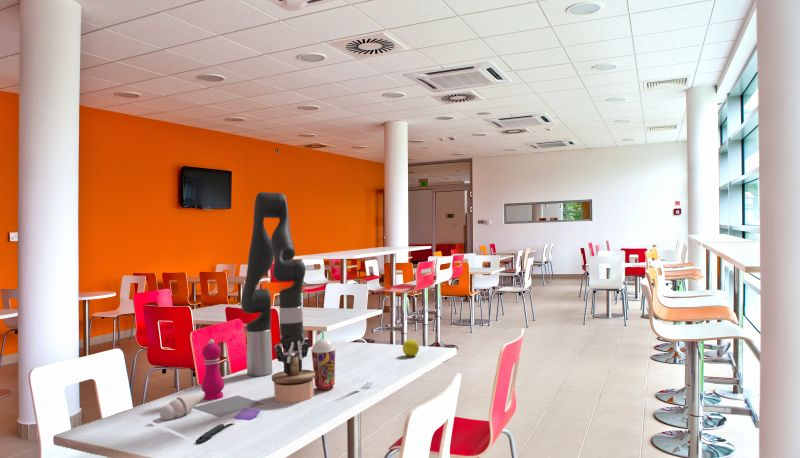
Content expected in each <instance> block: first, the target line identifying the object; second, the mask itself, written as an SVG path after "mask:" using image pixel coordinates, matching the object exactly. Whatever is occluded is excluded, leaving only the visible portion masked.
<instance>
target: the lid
mask: <svg viewBox="0 0 800 458" xmlns="http://www.w3.org/2000/svg"><path fill="white" fill-rule="evenodd" d="M290 363H291V374H289V375H288V374H285V372H284V370H283V371H279V372H276V373H273V375H271V381H272V382H273V383H274V382H276V383H298V382H304V381H308V380H311V379H313V380H314V377H315V372H314V370H311V369H301V371H300V372H299V359H298V355H294V354H292V356H291V358H290Z"/></svg>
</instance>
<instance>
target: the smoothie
mask: <svg viewBox="0 0 800 458" xmlns="http://www.w3.org/2000/svg"><path fill="white" fill-rule="evenodd" d="M324 334H325V333H324V330H321V338H320V339H318V340H317V341H315V342H314V344H313V346H312V349H311V357H312V358H311V359H312V368H313V369H312V371H314V372H315V377H314V378H313V381H314V386H315V387H316V390H317V391H320V392H321V391H322V392H325V391H326V392H327V391H331V390H332V389H334V386H335V381H336V380H335V379H336V378H335V376H336V375H335V374H336V347H335V346H334V343H333V342H332V341H331V340H329V339H327V338H325V335H324Z"/></svg>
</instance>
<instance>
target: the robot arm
mask: <svg viewBox="0 0 800 458" xmlns="http://www.w3.org/2000/svg"><path fill="white" fill-rule="evenodd" d="M265 218H267V219H278V220H279V221H278V223H277V226H276V228H274V230H273V232H272V234H271V237H270V235H269V233H268V232H267V229H266V227H265V225H264V219H265ZM252 224H253V225H252V234H251V241H250V247H249V252H248V260H247V269H246V276H245V281H244V285H243V290H242V295H241V299H240V300H241V302H240V303H241V310H242V312H243V313H244V314H258V313H259V315H258V316H257V317H256V318H255V319H253V320H251V321H249V322H248V323H246V343H247V344H246V346H247V349H246V369H247V374H248V376H249V377H262V376H267V375H270V374H272V373H273V354H272V353H273V352H272V351H274V353H275V356H276V359H277V361H278V362H281V363H283V371H284V372H285V374H288V375H289V374H291V363H290V358H291V356H292V355H298V359H299V372H300V371H301V370H303V359H304V358H307V356H308V352H309V348H310V344H311V339H308V338H304V336H303V334H304V325H303V324H304V323H303V321H304V319H303V309H302V308H303V307H302V290H303V289H302V288H303V284H304V280H305V276H306V265H305V262H304V261H303V260H301V259H294V257H295V255H296V250H295V249H296V248H295V246H294V243H293V242H294V241H293V239H292V233H291V225H290V215H289V207H288V201H287V197H286V195H285V194H284V193H280V192H266V191H265V192H262V191H261V192H258V193H257V194H256V196H255V200H254V209H253V222H252ZM272 265H273V268H271V267H272ZM270 269H272V275H273V276H272V277H273V279H275V280H276V281H277V282H280V283H284V282H293V283H292V285H291V286H289V287H286V288H283V289H281V290H280V291H279V298H278V299H279V311H278V313H279V314H278V315H279V316H278V317H279V335H280V340H279V343H277V344H274V345H273V347H272V331H271V330H272V327H271V326H272V325H271V324H272V295H271V293H270V290H269V289H267V288H258V289H257V286H258V284H259V282H260V281H261V280H262V279H263V278H264V277H265V276H266V274H267V273H268V272H269V271H270ZM272 349H273V350H272Z"/></svg>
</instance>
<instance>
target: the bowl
mask: <svg viewBox="0 0 800 458" xmlns="http://www.w3.org/2000/svg"><path fill="white" fill-rule="evenodd" d="M314 390H315V389H314V378H313V379H311V380H308V381H304V382H298V383H276V382H273V396H274V400H275V401H274V402H278V403H281V404H284V403H286V404H295V403H302V402H305V401H309V400H311V399H312V398H314V397H315V395H314V393H315V391H314Z"/></svg>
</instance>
